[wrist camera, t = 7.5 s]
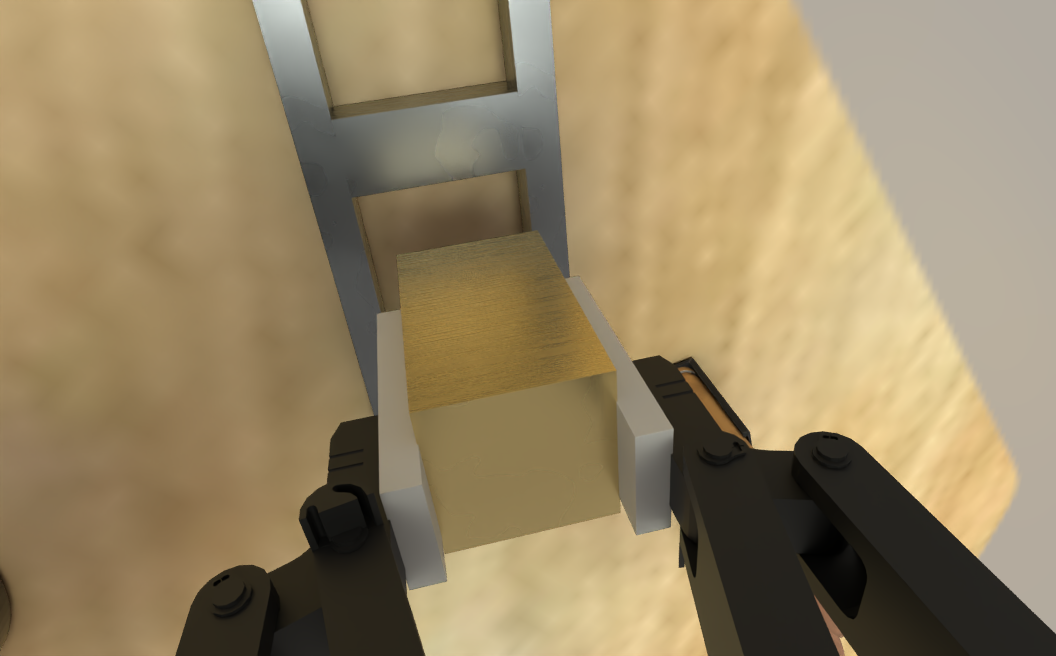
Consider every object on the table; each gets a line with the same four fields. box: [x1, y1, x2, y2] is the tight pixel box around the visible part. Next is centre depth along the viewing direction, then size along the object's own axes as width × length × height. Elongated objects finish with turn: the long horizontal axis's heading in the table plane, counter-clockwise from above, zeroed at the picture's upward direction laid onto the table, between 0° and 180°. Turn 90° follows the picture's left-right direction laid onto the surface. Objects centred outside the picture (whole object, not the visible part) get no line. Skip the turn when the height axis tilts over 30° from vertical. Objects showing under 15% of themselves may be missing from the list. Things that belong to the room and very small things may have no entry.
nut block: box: [396, 230, 620, 554], centre depth 16 cm, size 4×4×7 cm
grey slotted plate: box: [252, 0, 570, 416], centre depth 23 cm, size 8×24×2 cm, turn 6°
